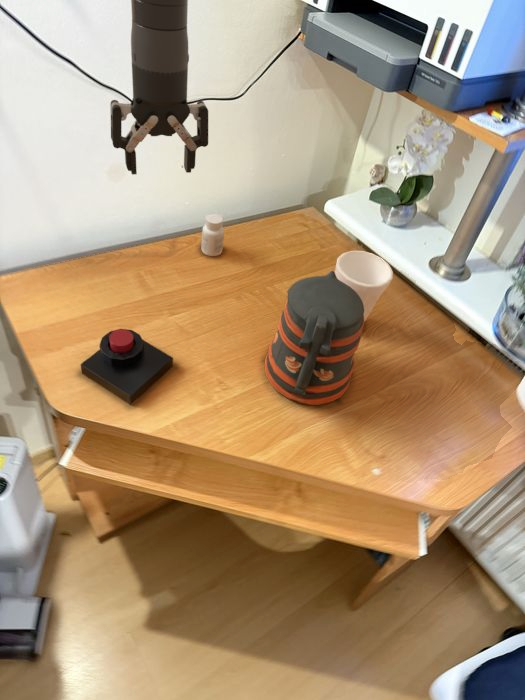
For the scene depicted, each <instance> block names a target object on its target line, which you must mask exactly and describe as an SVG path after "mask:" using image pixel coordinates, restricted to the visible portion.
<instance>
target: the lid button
mask: <svg viewBox="0 0 525 700" xmlns="http://www.w3.org/2000/svg"><path fill="white" fill-rule="evenodd" d="M120 329H121V330H118V329H115V330H116V331H114V330H113V331H114V332H112V333H111V335H110V337H109V341H110V348H111V349H112V351H114V352H116V353H121V354H123V353H127V352H129V351H131V350H132V348H133V346H134V341H133V335H132V333H131V332H130V331H127V330H128V329H127V330H123V329H124V328H120Z"/></svg>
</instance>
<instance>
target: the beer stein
mask: <svg viewBox="0 0 525 700" xmlns="http://www.w3.org/2000/svg"><path fill="white" fill-rule="evenodd" d="M286 298H287V300H286V301H285V305H284V308H283V310H282V312H281V313H280V317H279V319H278V328H277V330H276V333H275V335H274V336H273V337H272V339H271V341H270V343H269V346H268V350H267V354H266V356H265V358H264V371H265V372H264V373H265V375H266V378H267V380H268V382H269V383H270V385H271V386H272V388H274V389H275V391H276V392H277V393H278V394H280V395H281V396H283V397H284V398H286V399H288V400H291V401H293V402H296V403H298V404H305V405H311V406H319V405H323V404H328V403H332V402H334V401H336V400H337V399H340V398H341V397H342V396H343V395H344V394H345V393H346V391H348V388H349V386H350V383H351V379H352V374H353V371H354V368H355V353H356V352H357V350H358V348H359V346H360V343H361V340H362V334H363V330H364V326H365V322H366V320H364V305H363V302H362V300H361V298H360V296H359V295H358V294H357V293H356V291H354V290H353V289H352V288H351V287H349V286H348V285H346V284H345V283H343V282H341V281H340V280H338V279H337V277H336V275H335V270H331V271H330V272H328V273H327V274H326V275H315V276H309V277H305V278H302V279H298V280H297V281H295V282H294V283H293V284H291V286H290V287H289V288H288V290H287V295H286ZM364 321H365V322H364Z"/></svg>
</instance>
